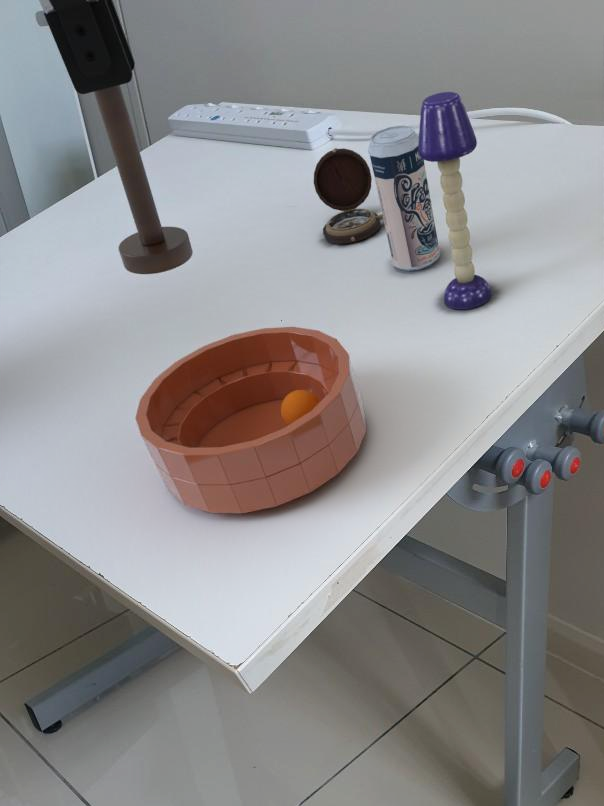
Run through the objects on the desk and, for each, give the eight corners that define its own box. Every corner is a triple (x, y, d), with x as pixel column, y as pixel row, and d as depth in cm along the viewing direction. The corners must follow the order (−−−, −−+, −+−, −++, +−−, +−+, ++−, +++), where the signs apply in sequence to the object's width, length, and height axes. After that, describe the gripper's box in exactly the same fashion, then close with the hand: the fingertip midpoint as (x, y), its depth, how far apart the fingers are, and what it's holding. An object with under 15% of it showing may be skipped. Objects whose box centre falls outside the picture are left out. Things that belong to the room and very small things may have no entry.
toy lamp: (443, 288, 79) (409, 94, 68) (494, 279, 79) (468, 81, 68) (445, 314, 76) (409, 114, 65) (498, 305, 75) (471, 101, 64)
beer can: (426, 275, 82) (402, 145, 74) (383, 272, 84) (355, 145, 76) (449, 251, 84) (428, 123, 76) (407, 248, 87) (382, 123, 79)
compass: (325, 251, 90) (306, 181, 85) (324, 220, 96) (306, 153, 91) (401, 234, 89) (386, 162, 85) (395, 204, 95) (381, 135, 90)
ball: (300, 439, 64) (287, 402, 63) (281, 433, 66) (268, 396, 65) (333, 423, 65) (321, 386, 64) (313, 417, 68) (301, 381, 66)
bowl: (155, 540, 61) (120, 474, 57) (179, 414, 72) (152, 352, 68) (373, 496, 60) (353, 426, 56) (363, 375, 71) (345, 309, 67)
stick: (118, 278, 54) (15, -23, 43) (130, 248, 57) (37, -39, 47) (188, 269, 54) (102, -35, 43) (196, 240, 57) (118, -50, 46)
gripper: (-113, -351, 42) (59, 63, 54) (-231, -397, 30) (21, 142, 43) (38, -389, 42) (175, 33, 54) (-23, -450, 30) (169, 104, 43)
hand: (106, 79), depth 49 cm, fingers closed on stick, 1 cm apart
